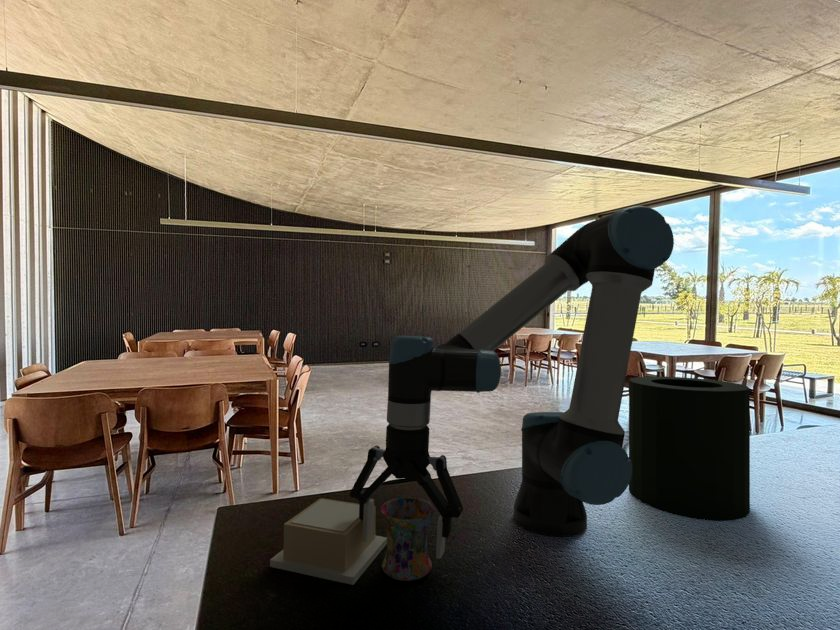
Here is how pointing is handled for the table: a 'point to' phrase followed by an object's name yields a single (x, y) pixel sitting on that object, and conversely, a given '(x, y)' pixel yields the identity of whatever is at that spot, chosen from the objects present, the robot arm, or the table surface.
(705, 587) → the table surface
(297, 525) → the cream stepped pedestal
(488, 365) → the robot arm
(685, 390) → the flower pot
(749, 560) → the table surface
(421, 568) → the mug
